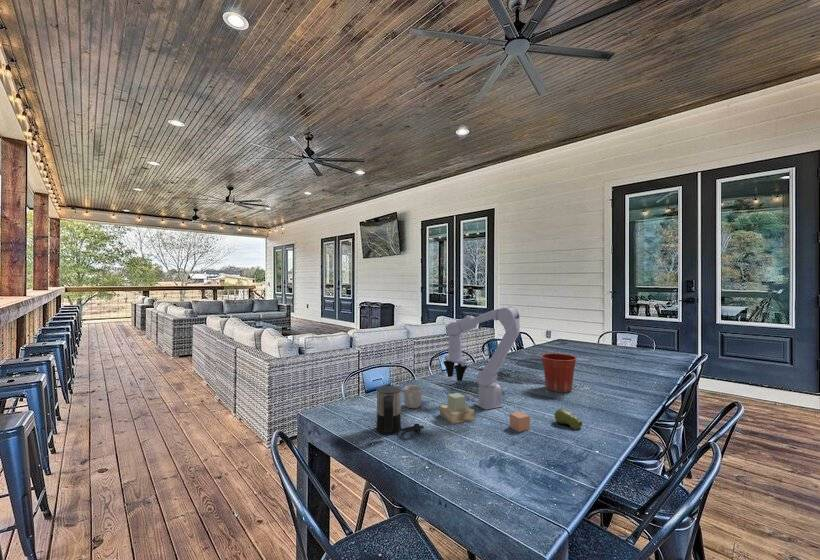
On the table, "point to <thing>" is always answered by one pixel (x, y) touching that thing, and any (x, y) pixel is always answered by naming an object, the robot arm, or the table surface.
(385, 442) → the table surface
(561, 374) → the flower pot
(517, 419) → the terracotta cube
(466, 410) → the base block
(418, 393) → the cup
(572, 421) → the pear
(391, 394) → the milk frother
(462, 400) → the sage cube
